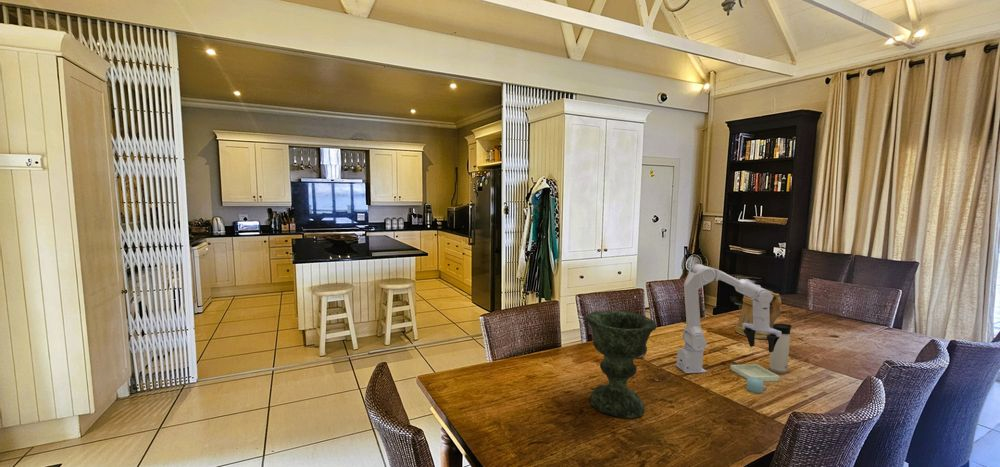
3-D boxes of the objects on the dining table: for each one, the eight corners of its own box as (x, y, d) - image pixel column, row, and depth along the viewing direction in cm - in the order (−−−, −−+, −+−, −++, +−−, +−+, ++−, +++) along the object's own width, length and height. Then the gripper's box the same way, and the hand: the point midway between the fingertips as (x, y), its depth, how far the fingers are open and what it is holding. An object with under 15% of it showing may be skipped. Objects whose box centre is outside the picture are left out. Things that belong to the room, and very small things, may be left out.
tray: (751, 382, 158) (752, 377, 158) (730, 369, 170) (730, 365, 170) (779, 381, 160) (779, 376, 160) (755, 368, 172) (756, 363, 172)
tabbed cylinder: (753, 393, 149) (754, 383, 149) (743, 387, 154) (743, 377, 154) (770, 392, 150) (771, 382, 150) (759, 386, 155) (760, 376, 155)
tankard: (752, 327, 229) (756, 284, 227) (793, 342, 207) (797, 294, 205) (727, 330, 224) (730, 285, 222) (765, 344, 202) (769, 295, 200)
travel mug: (791, 374, 166) (794, 327, 165) (773, 372, 168) (776, 325, 166) (783, 368, 173) (787, 322, 171) (766, 366, 174) (770, 321, 172)
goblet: (604, 426, 125) (608, 331, 123) (572, 392, 147) (575, 311, 144) (665, 417, 131) (670, 327, 128) (626, 386, 153) (629, 308, 150)
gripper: (785, 319, 162) (785, 352, 163) (749, 311, 175) (749, 342, 176) (775, 322, 159) (775, 356, 160) (739, 314, 171) (739, 345, 172)
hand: (761, 348), depth 168 cm, fingers open, 7 cm apart
